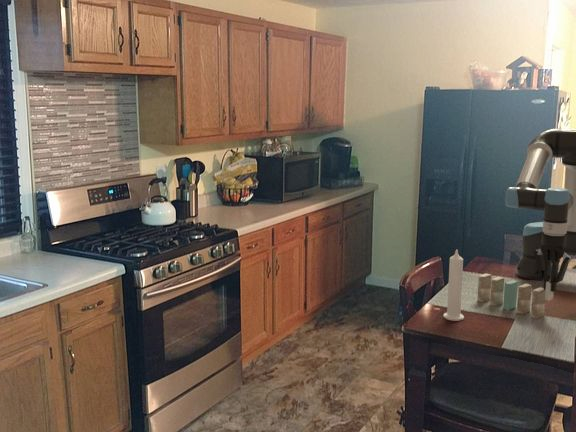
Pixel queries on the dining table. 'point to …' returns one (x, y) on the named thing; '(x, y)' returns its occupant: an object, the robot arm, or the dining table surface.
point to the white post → (454, 288)
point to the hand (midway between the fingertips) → (548, 299)
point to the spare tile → (510, 295)
